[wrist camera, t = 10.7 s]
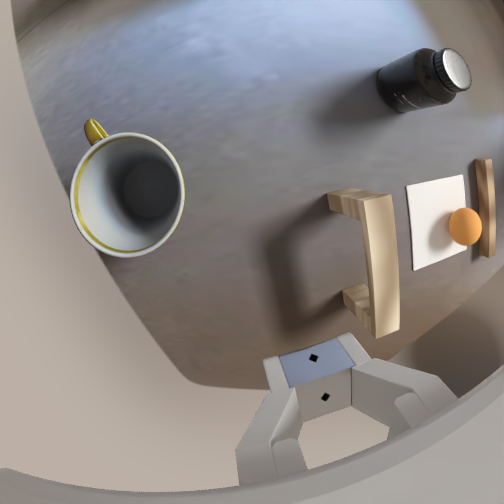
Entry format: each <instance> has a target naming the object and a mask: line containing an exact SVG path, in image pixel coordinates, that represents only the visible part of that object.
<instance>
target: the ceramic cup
mask: <svg viewBox="0 0 504 504" xmlns="http://www.w3.org/2000/svg"><path fill="white" fill-rule="evenodd" d="M84 131H85V134H86V137H87V139H88V141H89V143H90V144H91V146H92V147H91V148H90V149H89V150H88V151H87V152H86V153H85V154H84V155H83V157H82V158H81V160H80V161H79V163H78V165H77V167H76V169H75V171H74V174H73V177H72V180H71V185H70V207H71V212H72V216H73V219H74V221H75V224H76V226H77V228H78V230H79V231H80V233H81V234H82V236H83V237H84V238H85V239H86V241H88V242H89V243H90V244H91V245H92V246H93V247H94V248H96V249H98V250H99V251H101V252H103V253H105V254H107V255H110V256H114V257H119V258H133V257H138V256H142V255H145V254H147V253H150V252H152V251H153V250H155V249H157V248H158V247H159V246H161V245H162V244H163V243H164V242H165V241H166V240H167V239H168V238H169V237H170V235H171V234H172V233H173V231H174V230H175V228H176V226H177V224H178V222H179V220H180V217H181V214H182V210H183V206H184V198H185V184H184V179H183V176H182V173H181V170H180V168H179V166H178V164H177V162H176V160H175V158H174V157H173V155H172V154H171V153H170V152H169V150H168V149H167V148H166V147H165V146H163V145H162V144H161V143H160V142H158V141H157V140H155V139H153V138H151V137H149V136H146V135H143V134H140V133H133V132H125V133H118V134H114V135H111V136H108V134H107V133H106V132H105V131H104V129H103V128H102V127H101V126H100V124H99V123H98V122H97V121H95V120H94V119H89V120H88V121H87V122H86V123H85V125H84Z"/></svg>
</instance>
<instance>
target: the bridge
mask: <svg viewBox="0 0 504 504" xmlns="http://www.w3.org/2000/svg"><path fill="white" fill-rule="evenodd" d="M327 197H328V202H329V208H330V210H332V211H335V212H338V213H340V214H343V215H346V216H349V217H351V218H354V219H357V220H360V221H361V225H362V232H363V240H364V248H365V257H366V266H367V277H368V287H367V286H365V285H364V284H363V283H362V284H359V285H356V286H353V287H350V288H347V289H344V290H342V291H343V300H344V304H345V305H346V306H347V307H348V308H349V309H350V311H351V312H352V313H353V314H354V315H355V316H356V317H357V318H358V319H359V320H360V322H361V323H362V324H363V325H364V326H365V327H366V328H367V329H368V331H369V332H370V333H371V334H372V335H373V336H374V337H375V338H376V339H377V338H379V337H382V336H384V335H387V334H389V333H392V332H394V331H396V330H399V271H398V254H397V241H396V230H395V221H394V212H393V204H392V197H391V194H385V193H379V192H372V191H366V190H359V189H353V188H347V189H343V190H338V191H334V192H329V193H327Z"/></svg>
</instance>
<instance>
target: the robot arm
mask: <svg viewBox="0 0 504 504" xmlns="http://www.w3.org/2000/svg"><path fill="white" fill-rule="evenodd" d="M263 365H264V369H265V372H266V376H267V380H268V384H269V387H270V391H271V394H267V395H266V397H265V399H264V400H263V402H262V404H261V406H260V408H259V410H258V411H257V413H256V415H255V417H254V418H253V420H252V422H251V424H250V426H249V427H248V429H247V431H246V432H245V434H244V436H243V437H242V439H241V441H240V442H239V444H238V446H237V447H236V449H235V452H236V461H237V469H238V477H239V486H233V487H226V488H218V489H209V490H198V491H183V492H131V491H116V490H105V489H96V488H89V487H82V486H76V485H70V484H65V483H60V482H55V481H51V480H47V479H42V478H39V477H35V476H31V475H28V474H24V473H21V472H18V471H15V470H12V469H8V468H2V469H0V504H504V365H503V366H501V367H500V368H499V369H498V370H497V371H495V372H494V373H493V374H492V375H491V376H489V377H488V378H487V379H485V380H484V381H483V382H481V383H480V384H479V385H478V386H476V387H475V388H474V389H472V390H471V391H469V392H468V393H467V394H465V395H464V396H462V397H461V398H459V399H458V398H457V397H456V396H455V395H454V394H453V393H452V392H451V390H450V389H449V388H448V387H447V386H446V385H445V384H444V383H443V382H442V381H441V380H440V378H439V377H437V376H436V375H432V374H428V373H425V372H421V371H418V370H414V369H411V368H407V367H403V366H400V365H397V364H394V363H390V362H387V361H384V360H381V359H377V358H374V359H371V358H370V357H369V355H368V354H367V353H366V352H365V350H364V349H363V348H362V346H361V345H360V344H359V343H358V341H357V340H356V339H355V338H354V336H353V335H352V334H351V333H349V332H348V333H346V334H343V335H340V336H338V337H335V338H333V339H330V340H327V341H325V342H322V343H319V344H316V345H312V346H309V347H306V348H302V349H299V350H295V351H292V352H288V353H284V354H280V355H278V356H274V357H270V358H266V359H263ZM349 406H352V407H353V408H355V409H357V410H359V411H361V412H362V413H364V414H366V415H368V416H370V417H372V418H373V419H375V420H377V421H379V422H381V423H383V424H385V425H387V426H389V427H390V428H389V433H388V437H387V440H386V441H383V442H381V443H379V444H377V445H375V446H372V447H370V448H368V449H365V450H363V451H361V452H358V453H356V454H353V455H350V456H348V457H345V458H343V459H340V460H337V461H334V462H331V463H329V464H325V465H322V466H319V467H316V468H313V469H310V470H308V469H307V466H306V463H305V461H304V457H303V454H302V451H301V449H300V446H299V443H298V437H299V434H300V431H301V428H302V425H303V422H306V421H309V420H312V419H315V418H317V417H320V416H323V415H326V414H329V413H331V412H335V411H338V410H341V409H344V408H346V407H349Z"/></svg>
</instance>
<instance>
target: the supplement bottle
mask: <svg viewBox="0 0 504 504" xmlns="http://www.w3.org/2000/svg"><path fill="white" fill-rule="evenodd" d="M470 85H471V73H470V71H469V68H468V65H467V64H466V62H465V61H464V59H463V58H462V57H461V55H460V54H459V53H458V52H456V51H455V50H453V49H450V48H445V49H442V50H437V51H435V50H432V49H428V48H422V49H419V50H416V51H414V52H412V53H410V54H408V55H406V56H404V57H402V58H400V59H398V60H396V61H394V62H392V63H390V64H388V65H386V66H384V67H383V68H382V69H381V70H380V71H379V73H378V76H377V87H378V90H379V93H380V95H381V97H382V98H383V100H384V101H385V102H386V103H387V104H388V105H389V106H390V107H391V108H393V109H394V110H396V111H399V112H410V111H415V110H419V109H424V108H428V107H433V106H438V105H443V104H447V103H449V102H451V101H452V100H453V99H454V98H455V96H456V93H459V92H461V91H466V90H467V89H469V87H470Z"/></svg>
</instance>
